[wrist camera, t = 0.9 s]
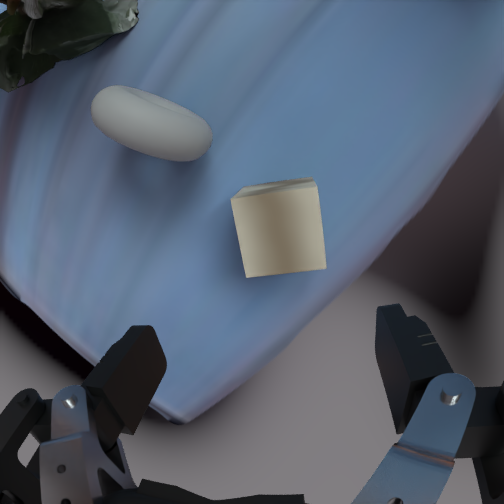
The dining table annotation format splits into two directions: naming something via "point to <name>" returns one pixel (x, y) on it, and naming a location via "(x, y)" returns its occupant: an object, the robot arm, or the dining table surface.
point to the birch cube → (279, 227)
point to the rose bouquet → (55, 33)
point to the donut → (150, 124)
